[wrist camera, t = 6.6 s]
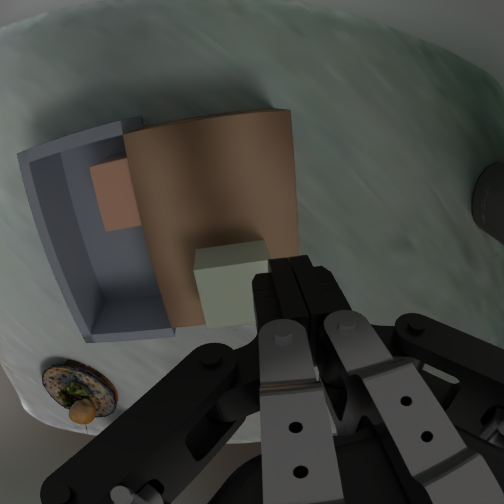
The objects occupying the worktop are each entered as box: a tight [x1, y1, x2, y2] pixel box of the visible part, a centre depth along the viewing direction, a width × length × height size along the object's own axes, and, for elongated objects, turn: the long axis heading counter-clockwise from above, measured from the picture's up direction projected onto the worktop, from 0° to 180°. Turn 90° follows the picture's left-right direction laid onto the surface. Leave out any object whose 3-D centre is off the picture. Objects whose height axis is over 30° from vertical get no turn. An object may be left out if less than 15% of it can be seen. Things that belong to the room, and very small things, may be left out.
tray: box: [17, 116, 176, 343], centre depth 24 cm, size 9×18×6 cm, turn 6°
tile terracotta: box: [89, 151, 142, 231], centre depth 23 cm, size 5×5×3 cm
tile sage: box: [194, 240, 271, 329], centre depth 22 cm, size 5×5×3 cm
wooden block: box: [123, 108, 299, 328], centre depth 25 cm, size 11×16×6 cm
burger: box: [42, 360, 118, 433], centre depth 34 cm, size 12×12×8 cm
